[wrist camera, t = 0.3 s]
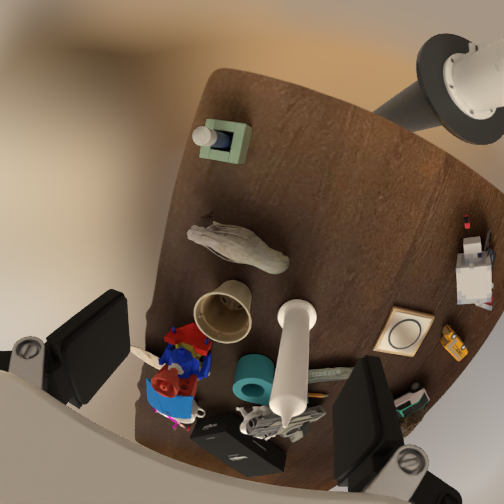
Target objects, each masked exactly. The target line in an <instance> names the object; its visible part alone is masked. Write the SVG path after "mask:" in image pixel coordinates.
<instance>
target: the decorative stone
mask: <svg viewBox="0 0 504 504" xmlns="http://www.w3.org/2000/svg"><path fill="white" fill-rule="evenodd" d="M130 351H131V352H132V353H134V354H135V355H136V356H137V357H139V358H140V359H142V360H143V361H145V362H146V363H148V364H150V365H151V366H153V367H155V368H157V369H159V370H160V369H161V368H162V367H163V366H164V365H165V363H164V364H163V365H159V361H158V359H159V357H157V356H155V355H153V354H151V353H149V352H147V351H144V350H143V349H141V348H139V347H135V346H131V345H130Z"/></svg>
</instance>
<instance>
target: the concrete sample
mask: <svg viewBox="0 0 504 504" xmlns="http://www.w3.org/2000/svg"><path fill="white" fill-rule="evenodd" d="M426 411H427V407H425V406H423V407H422V408H421V409H419V410H417V411H415V412H413V413H411V414H409V415H408V416H407V417H406V418H405V419H404V420H403V421H401V422H400V427H401V431H402V436H403V439H404V437H406V436H408V434H409V433H411V432H412V431H413V430H414V428H415V427H416V425H418V424H419V422H421V420H422V419H423V417H424V415H425V413H426Z"/></svg>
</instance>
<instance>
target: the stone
mask: <svg viewBox="0 0 504 504" xmlns="http://www.w3.org/2000/svg"><path fill="white" fill-rule="evenodd" d="M353 369H354V367H348V368H346V367H337V368H325V369H312V370H308V383H314V382H321V381H330V380H344V379H348V378H349V376H350V374H351V372H352V370H353Z"/></svg>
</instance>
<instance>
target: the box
mask: <svg viewBox="0 0 504 504" xmlns="http://www.w3.org/2000/svg"><path fill="white" fill-rule="evenodd" d="M242 422H243V421H242V420H241V419H240V418H239V417H238V416H236V415H235V414H234V413H233V412H231V413H228V414H224V415H220V416H217V417H213V418H209V419H205V420H201V421H197V423H196V425H195V428H194V430H193V432H192V434H191V436H190V439H191V440H193V441H194V442H195V443H197V444H198V445H199V446H201V447H202V448H204V449H205V450H206V451H208V452H209V453H211V454H212V455H213V456H215V457H216V458H218V459H219V460H221V461H222V462H224V463H225V464H227V465H228V466H230V467H232V468H233V469H235V470H236V471H238V472H240V473H241V474H243V475H245V476H246V477H252V476H260V475H268V474H274V473H281V472H284V467H285V461H286V456H287V455H286V454H285V453H284V452H282V451H281V450H279V449H278V448H277V447H275V446H274V445H273V444H271V443H270V442H269V441H267V440H265V438H263V439H259V438H257V437H254V438H253V436H252V435H248V434H243V433H242V432H241V431H240V425H241V423H242Z"/></svg>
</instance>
